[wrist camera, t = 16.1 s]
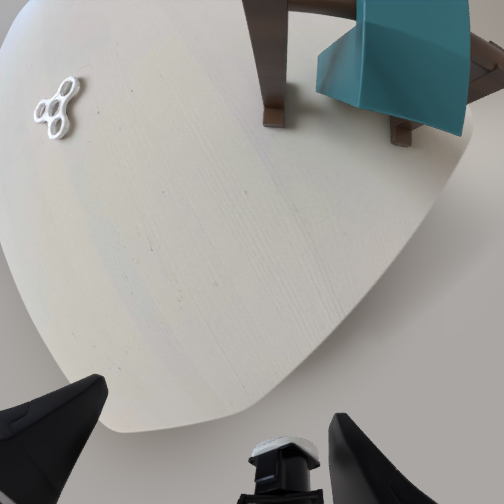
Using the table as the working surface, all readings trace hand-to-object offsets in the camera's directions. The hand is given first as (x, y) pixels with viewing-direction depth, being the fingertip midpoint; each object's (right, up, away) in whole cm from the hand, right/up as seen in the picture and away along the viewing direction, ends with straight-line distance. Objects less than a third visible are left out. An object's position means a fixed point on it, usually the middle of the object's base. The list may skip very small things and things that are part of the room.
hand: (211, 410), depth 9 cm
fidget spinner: (-18, +20, +11) cm, 30 cm away
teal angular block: (+8, +20, +7) cm, 23 cm away
